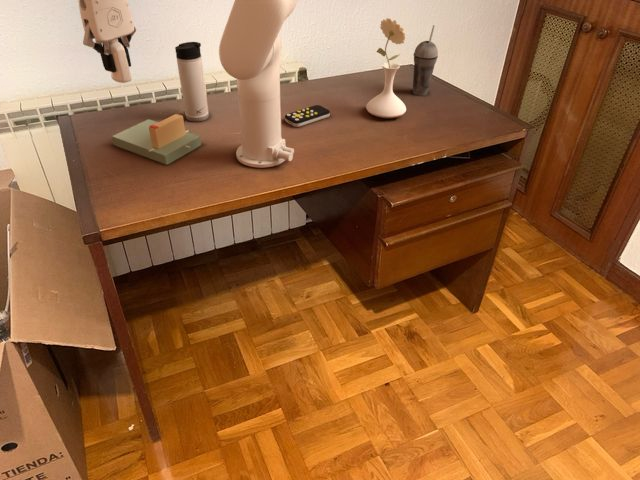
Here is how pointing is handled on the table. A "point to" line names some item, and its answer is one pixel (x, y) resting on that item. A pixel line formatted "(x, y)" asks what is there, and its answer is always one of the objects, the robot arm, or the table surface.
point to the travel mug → (192, 81)
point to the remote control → (307, 115)
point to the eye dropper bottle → (119, 62)
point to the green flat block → (141, 143)
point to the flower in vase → (388, 77)
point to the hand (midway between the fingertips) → (118, 67)
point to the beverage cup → (424, 65)
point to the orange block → (167, 131)
